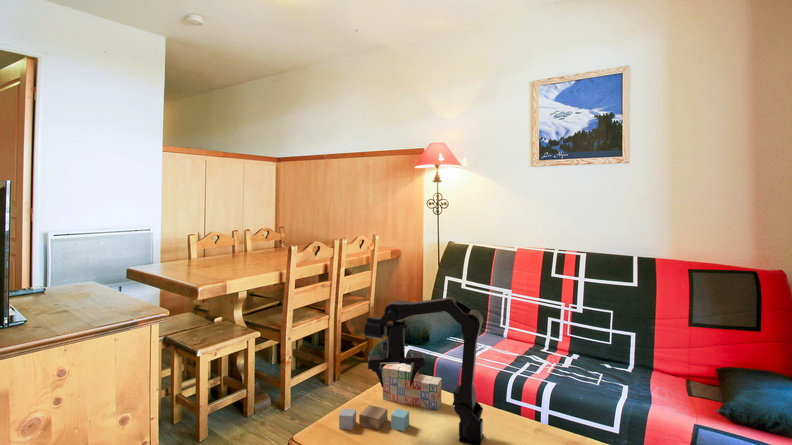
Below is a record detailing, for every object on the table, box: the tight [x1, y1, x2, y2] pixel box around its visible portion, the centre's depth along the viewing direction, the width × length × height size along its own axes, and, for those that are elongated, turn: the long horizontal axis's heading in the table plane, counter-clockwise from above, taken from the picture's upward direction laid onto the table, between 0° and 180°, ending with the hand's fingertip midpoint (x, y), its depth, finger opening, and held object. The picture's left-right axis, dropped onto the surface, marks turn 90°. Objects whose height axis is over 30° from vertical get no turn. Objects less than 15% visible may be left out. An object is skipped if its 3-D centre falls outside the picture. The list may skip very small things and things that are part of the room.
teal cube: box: [390, 408, 410, 432], centre depth 130 cm, size 4×4×4 cm
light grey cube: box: [338, 408, 357, 431], centre depth 131 cm, size 4×4×4 cm
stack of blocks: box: [382, 363, 443, 411], centre depth 147 cm, size 21×6×12 cm, turn 68°
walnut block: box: [358, 404, 389, 431], centre depth 132 cm, size 7×7×4 cm
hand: (396, 386), depth 131 cm, fingers open, 9 cm apart
